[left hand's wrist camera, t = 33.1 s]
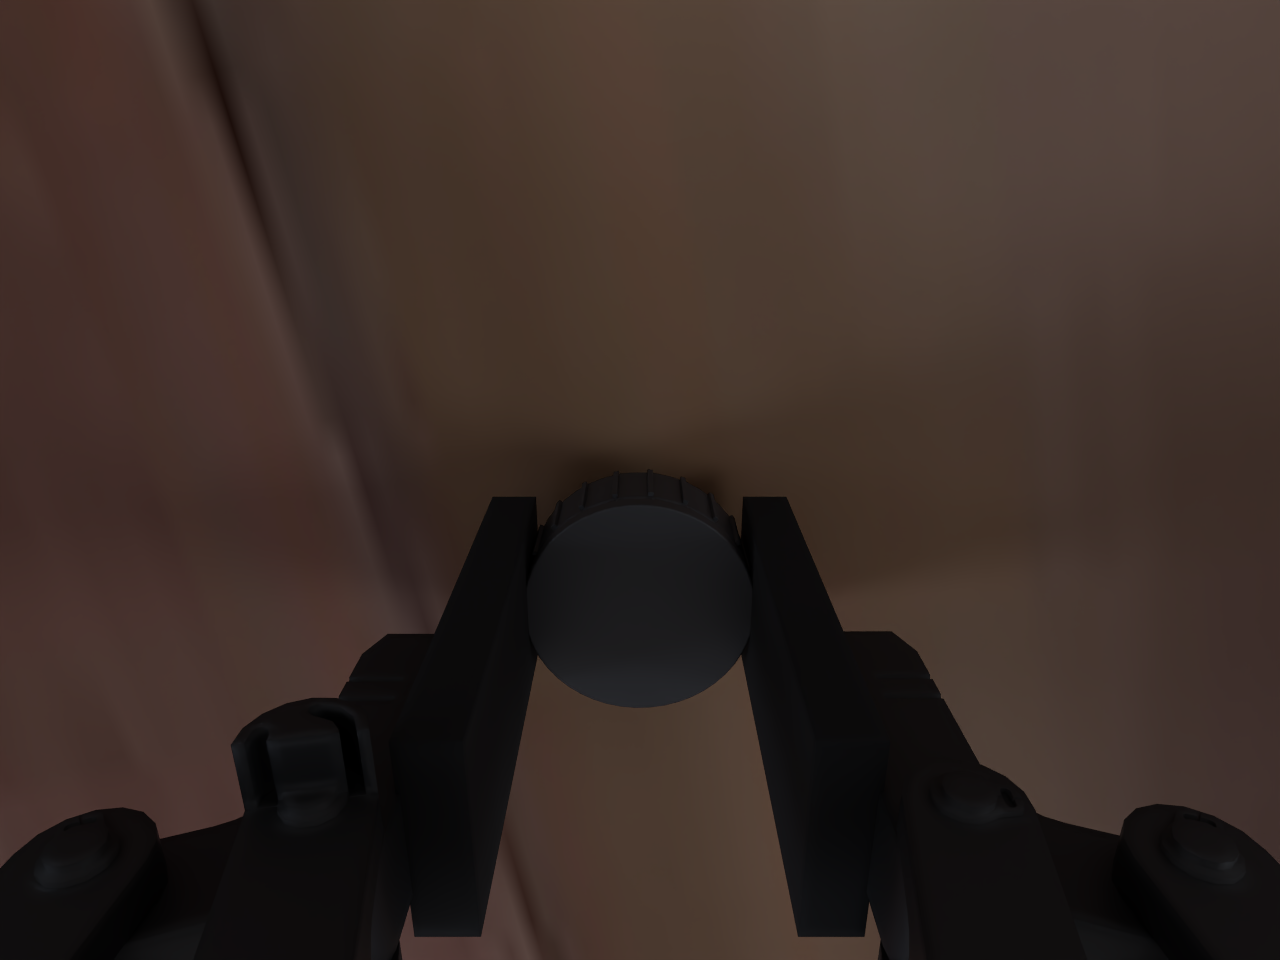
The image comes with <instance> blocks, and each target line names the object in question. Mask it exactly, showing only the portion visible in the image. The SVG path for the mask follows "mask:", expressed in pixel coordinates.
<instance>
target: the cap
mask: <svg viewBox="0 0 1280 960" xmlns="http://www.w3.org/2000/svg"><path fill="white" fill-rule="evenodd" d="M532 555H534V556H533V560H532V563H531V567H530V571H529V575H528V579H527V583H526V589H527V608H528V626H529V638H530V640H531V643H532V645H533V647H534V649H535V650H536V652H537V654H538V656H539V657H540V659H541V660H542V661H543V663H544V664H545V665H546V666H547V668H548V669H549V670H550V671H551V672H552V673H553V674H554V675H555V676H556V677H557V678H558V679H560V680H561V681H562V682H563V683H565V684H566V685H567V686H569V687H570V688H572V689H574V690H575V691H577V692H579V693H580V694H583V695H585V696H587V697H589V698H592V699H594V700H597V701H600V702H603V703H607V704H611V705H616V706H622V707H634V708H642V707H656V706H663V705H668V704H672V703H676V702H679V701H682V700H684V699H687V698H690V697H692V696H694V695H696V694H698V693H700V692H702V691H704V690H705V689H707V688H708V687H710V686H711V685H713V684H714V683H716V682H717V681H718V680H719V679H720V678H722V677H723V676H724V675H725V674H726V673H727V672H728V671H729V670H730V669H731V667H732V666H733V665H734V664H735V663H736V661H737V660H738V658H739V657H740V655H741V654H742V652H743V650H744V648H745V646H746V644H747V642H748V640H749V637H750V626H751V608H752V589H753V584H752V580H751V576H750V568H749V564H748V560H747V556H746V553H745V549H744V545H743V543H742V542H741V539H740V536H739V534H738V530H737V526H736V523H735V519H734V517H733V515H731V516H728V514H727V513H726V512H725V511H724V510H723V509H722V507H721V506H720V505H719V504H718V503H717V502H716V501H715V500H714V495H713V494H712V493H709V494H708V495H707V494H706V493H704V492H703V491H701V490H700V489H698V488H697V487H695V486H693V485H691V484H689V483H687V482H686V480H685V478H684V477H680V480H679V479H676V478H673V477H670V476H665V475H661V474H656V473H653V470H649V469H648V471H647V473H625V474H619V471H616V472H614V475H613V476H610V477H606V478H602V479H600V480H597V481H595V482H592V483H590V484H588V483H587V482H584V483H582V488H581V489H579V490H577V491H576V492H574V493H573V494H572V495H570V496H569V497H568V498H567V499H565V500H564V501H563V502H562V501H560V500H559V501H558V502H557V504H556V508H555V511H554V512H553V513H552V515H551V516H550V517H549V519H548V520H547V522H546V524H545V525H544V526H543V525H540V527H539V530H538V534H537V537H536V541H535V545H534V548H533V552H532Z"/></svg>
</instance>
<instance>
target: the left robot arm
mask: <svg viewBox="0 0 1280 960" xmlns="http://www.w3.org/2000/svg"><path fill="white" fill-rule="evenodd" d="M537 534H538V530H537V509H536V497H493V498H492V500H491V502H490V505H489V507H488V509H487V512H486V514H485V516H484V519H483V521H482V523H481V526H480V528H479V530H478V533H477V535H476V537H475V540H474V542H473V545H472V547H471V549H470V552H469V554H468V556H467V559H466V561H465V563H464V566H463V568H462V570H461V573H460V575H459V577H458V580H457V582H456V584H455V587H454V589H453V591H452V594H451V596H450V599H449V601H448V603H447V606H446V608H445V610H444V613H443V615H442V617H441V620H440V622H439V624H438V627H437V629H436V631H435V634H387V635H386V636H385V637H383V638H382V639H381V640H379V641H378V642H377V643H376V644H374V645H373V646H372V647H371V648H369V649H368V650H367V651H365V652H364V653H363V654H362V655H361V657H360V659H359V661H358V663H357V664H356V666H355V668H354V670H353V672H352V673H351V675H350V677H349V682H347V683H346V684H345V686H344V688H343V690H342V692H341V693H340V695H339V699H338V698H309V699H305V700H300V701H295V702H290V703H286V704H284V705H282V706H279V707H277V708H275V709H272V710H270V711H268V712H265V713H263V714H261V715H260V716H259V717H257V718H256V719H255V720H253V721H252V722H251V723H249V724H248V725H246V726H245V727H244V728H243V729H242V730H241V731H240V733H239V734H238V736H237V737H236V738H235V740H234V741H233V743H232V744H231V748H232V753H233V757H234V762H235V766H236V771H237V776H238V780H239V785H240V789H241V794H242V799H243V803H244V808H245V812H244V815H243V817H240V818H238V819H236V820H233V821H230V822H227V823H223V824H220V825H217V826H214V827H209V828H205V829H201V830H197V831H192V832H188V833H184V834H179V835H175V836H171V837H167V838H162V839H160V838H159V835H158V831H157V827H156V824H155V822H154V821H153V820H151V819H150V818H149V817H148V816H147V815H146V814H145V813H144V812H141V811H137V810H132V809H128V808H123V807H122V808H112V809H101V810H95V811H91V812H88V813H85V814H82V815H79V816H76V817H73V818H69V819H66V820H64V821H63V822H61V823H59V824H57V825H55V826H53V827H51V828H49V829H48V830H46V831H44V832H42V833H40V834H38V835H37V836H36V837H34V838H33V839H32V840H31V841H29V842H28V843H27V844H26V845H25V846H23V847H22V848H21V849H20V850H18V851H17V852H16V853H15V854H14V855H13V856H12V857H11V858H10V859H9V860H8V861H7V862H6V863H5V864H4V865H3V866H2V867H1V868H0V960H402V955H401V948H400V941H399V939H400V936H401V932H402V929H403V926H404V923H405V919H406V916H407V913H408V909H409V906H411V914H412V921H413V928H414V936H415V937H481V933H482V928H483V924H484V919H485V914H486V909H487V904H488V899H489V894H490V889H491V884H492V879H493V874H494V869H495V864H496V859H497V854H498V849H499V844H500V839H501V834H502V829H503V824H504V819H505V814H506V809H507V805H508V800H509V795H510V790H511V785H512V780H513V775H514V770H515V765H516V760H517V755H518V750H519V745H520V740H521V735H522V730H523V725H524V720H525V715H526V710H527V705H528V700H529V695H530V691H531V686H532V681H533V676H534V671H535V666H536V661H537V656H538V654H537V652H536V650H535V649H534V647H533V645H532V643H531V640H530V638H529V626H528V608H527V589H526V583H527V579H528V575H529V571H530V567H531V563H532V560H533V556H534V555H532V552H533V548H534V545H535V541H536V537H537ZM741 542H742V543H743V545H744V549H745V553H746V556H747V560H748V564H749V568H750V576H751V580H752V584H753V589H752V608H751V626H750V637H749V640H748V642H747V644H746V646H745V648H744V650H743V652H742V654H741V656H742V660H743V665H744V670H745V675H746V680H747V685H748V690H749V695H750V700H751V705H752V710H753V715H754V720H755V725H756V730H757V735H758V740H759V745H760V750H761V755H762V760H763V765H764V770H765V775H766V780H767V785H768V789H769V794H770V799H771V804H772V809H773V814H774V819H775V824H776V829H777V834H778V839H779V844H780V849H781V854H782V859H783V864H784V869H785V874H786V879H787V884H788V889H789V894H790V899H791V904H792V909H793V913H794V918H795V923H796V928H797V933H798V937H864V936H865V929H866V921H867V914H868V906H869V902H870V905H871V909H872V912H873V915H874V919H875V922H876V925H877V928H878V932H879V935H880V938H881V941H880V948H879V955H878V960H1280V864H1279V863H1278V862H1277V861H1276V860H1275V859H1274V858H1273V857H1272V856H1271V855H1270V854H1269V853H1268V852H1267V851H1266V850H1265V849H1264V848H1262V847H1261V846H1260V845H1259V844H1257V843H1256V842H1255V841H1254V840H1253V839H1251V838H1250V837H1249V836H1248V835H1246V834H1245V833H1244V832H1243V831H1241V830H1239V829H1237V828H1235V827H1233V826H1232V825H1230V824H1228V823H1226V822H1224V821H1222V820H1220V819H1218V818H1216V817H1215V816H1212V815H1209V814H1206V813H1203V812H1200V811H1196V810H1193V809H1190V808H1187V807H1184V806H1173V805H1163V804H1154V805H1150V806H1145V807H1141V808H1136V809H1135V810H1134V811H1133V812H1132V813H1131V814H1130V815H1129V816H1128V817H1127V818H1126V819H1125V820H1124V823H1123V826H1122V830H1121V834H1120V836H1119V835H1114V834H1110V833H1106V832H1101V831H1097V830H1093V829H1089V828H1084V827H1080V826H1076V825H1071V824H1067V823H1063V822H1060V821H1057V820H1054V819H1050V818H1047V817H1044V816H1042V815H1040V814H1037V813H1036V811H1035V809H1034V807H1033V806H1032V804H1031V802H1030V801H1029V799H1028V797H1027V796H1026V794H1025V793H1024V791H1022V790H1021V789H1020V788H1019V787H1018V786H1016V785H1015V784H1014V783H1013V782H1012V781H1010V780H1009V779H1008V778H1007V777H1006V776H1004V775H1002V774H1000V773H998V772H995V771H993V770H991V769H989V768H987V767H985V766H983V765H980V764H979V762H978V760H977V758H976V756H975V755H974V753H973V751H972V749H971V747H970V746H969V744H968V742H967V740H966V738H965V737H964V735H963V733H962V731H961V729H960V728H959V726H958V724H957V722H956V721H955V719H954V717H953V715H952V713H951V712H950V710H949V708H948V706H947V704H946V703H945V701H944V699H941V694H940V692H939V690H938V688H937V686H936V685H935V683H934V681H933V679H930V674H929V672H928V670H927V668H926V667H925V665H924V663H923V661H922V659H921V658H920V656H919V654H918V652H917V651H916V650H915V649H913V648H912V647H911V646H909V645H908V644H907V643H906V642H904V641H903V640H902V639H901V638H899V637H898V636H897V635H895V634H894V633H893V632H892V631H843V629H842V627H841V624H840V622H839V620H838V617H837V615H836V613H835V610H834V608H833V606H832V603H831V601H830V599H829V596H828V594H827V592H826V589H825V587H824V585H823V582H822V580H821V577H820V575H819V573H818V570H817V568H816V566H815V563H814V561H813V559H812V556H811V554H810V552H809V549H808V547H807V545H806V542H805V540H804V538H803V535H802V533H801V530H800V528H799V526H798V523H797V521H796V519H795V516H794V514H793V512H792V509H791V507H790V505H789V502H788V500H787V498H786V497H743V510H742V530H741Z"/></svg>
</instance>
